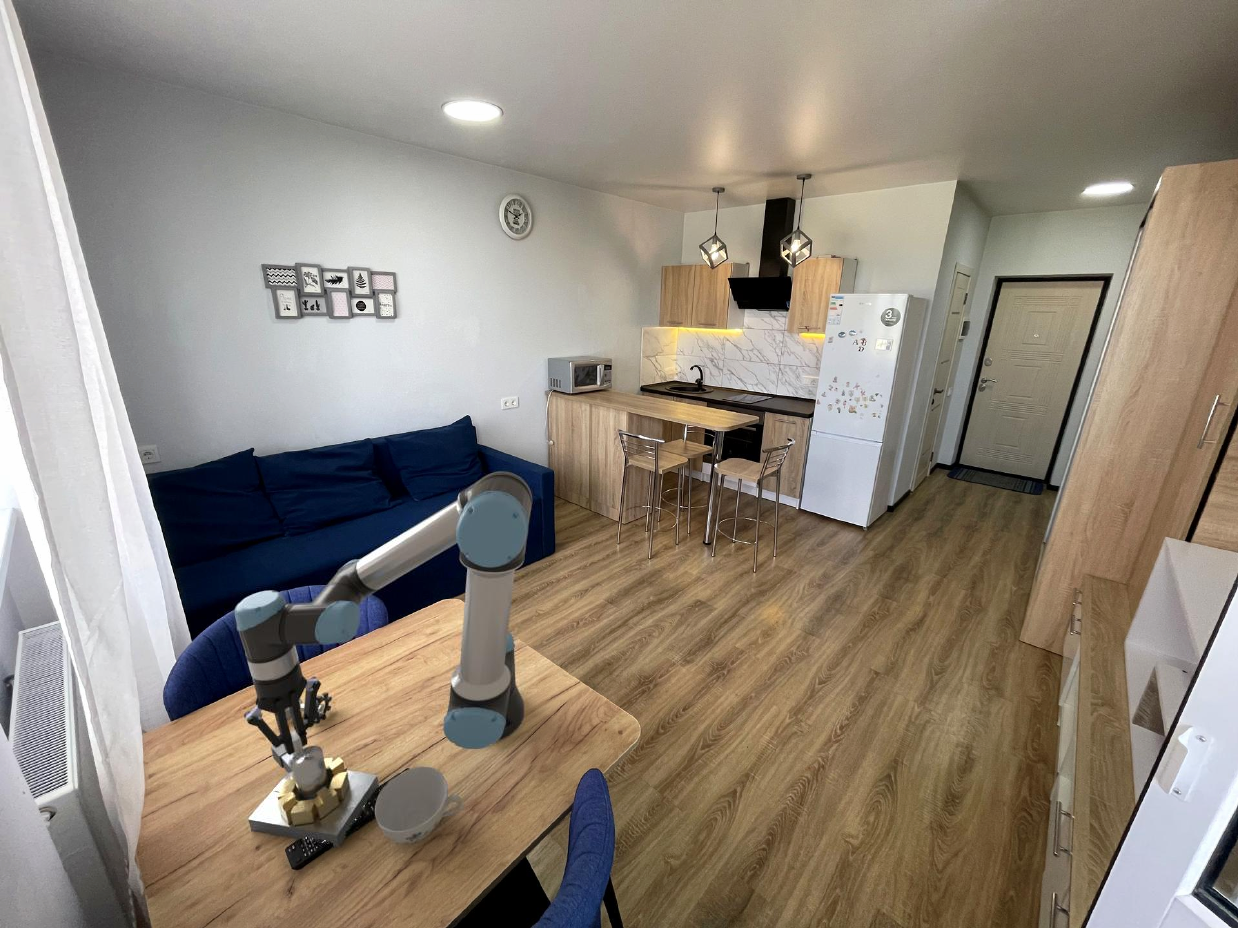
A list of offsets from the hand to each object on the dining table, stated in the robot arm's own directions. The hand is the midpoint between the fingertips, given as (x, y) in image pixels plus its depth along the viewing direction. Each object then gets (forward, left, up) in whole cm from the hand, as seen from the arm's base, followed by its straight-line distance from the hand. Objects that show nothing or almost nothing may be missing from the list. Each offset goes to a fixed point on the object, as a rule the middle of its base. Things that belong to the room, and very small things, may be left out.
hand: (300, 759), depth 100 cm
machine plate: (-8, +6, -4) cm, 11 cm away
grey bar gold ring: (-3, +3, -1) cm, 5 cm away
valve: (+12, -14, -5) cm, 19 cm away
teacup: (-30, +6, -4) cm, 31 cm away
